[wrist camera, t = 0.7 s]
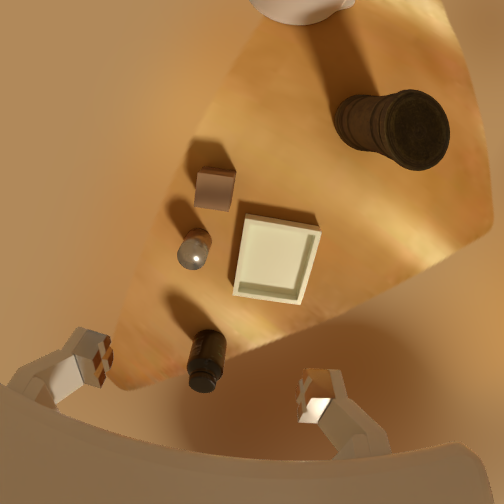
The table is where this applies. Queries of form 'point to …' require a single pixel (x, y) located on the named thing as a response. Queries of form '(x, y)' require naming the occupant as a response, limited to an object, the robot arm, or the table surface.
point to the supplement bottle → (206, 360)
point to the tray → (275, 259)
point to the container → (396, 127)
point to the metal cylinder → (194, 249)
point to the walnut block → (214, 188)
